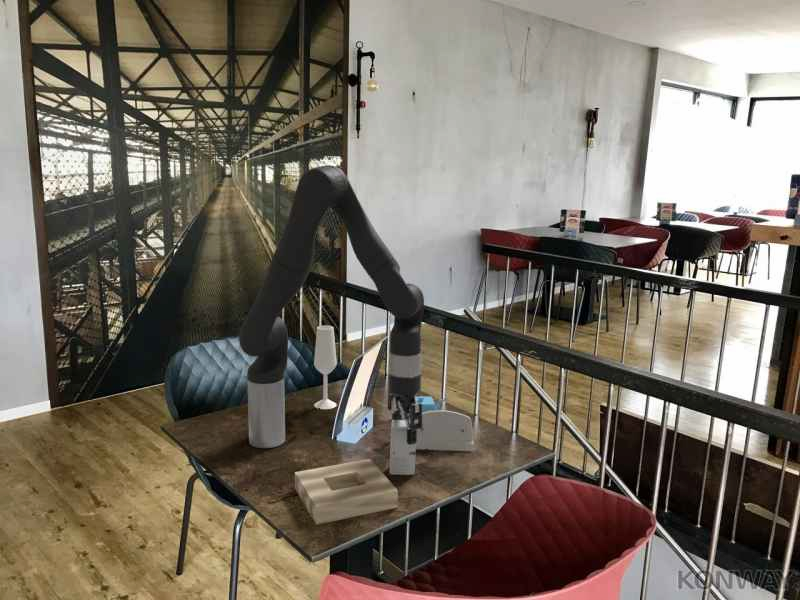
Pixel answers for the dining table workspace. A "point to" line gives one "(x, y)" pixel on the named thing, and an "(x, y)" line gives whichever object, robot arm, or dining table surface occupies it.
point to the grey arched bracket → (445, 431)
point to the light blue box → (427, 403)
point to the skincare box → (401, 450)
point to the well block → (345, 491)
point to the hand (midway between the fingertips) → (403, 436)
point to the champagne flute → (325, 360)
